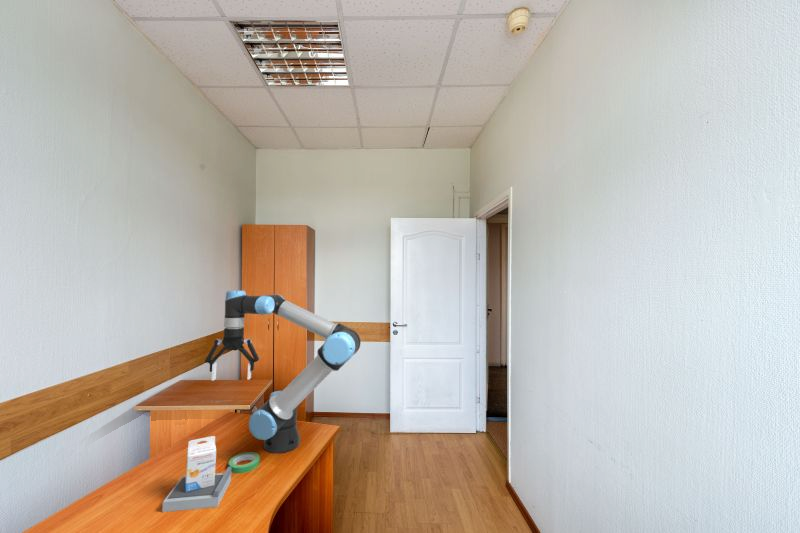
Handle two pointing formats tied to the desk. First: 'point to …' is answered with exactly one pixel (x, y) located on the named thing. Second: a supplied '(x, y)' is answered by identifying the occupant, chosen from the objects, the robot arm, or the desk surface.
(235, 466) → the tape roll
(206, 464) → the ink box
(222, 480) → the dock
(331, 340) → the robot arm
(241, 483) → the desk surface
